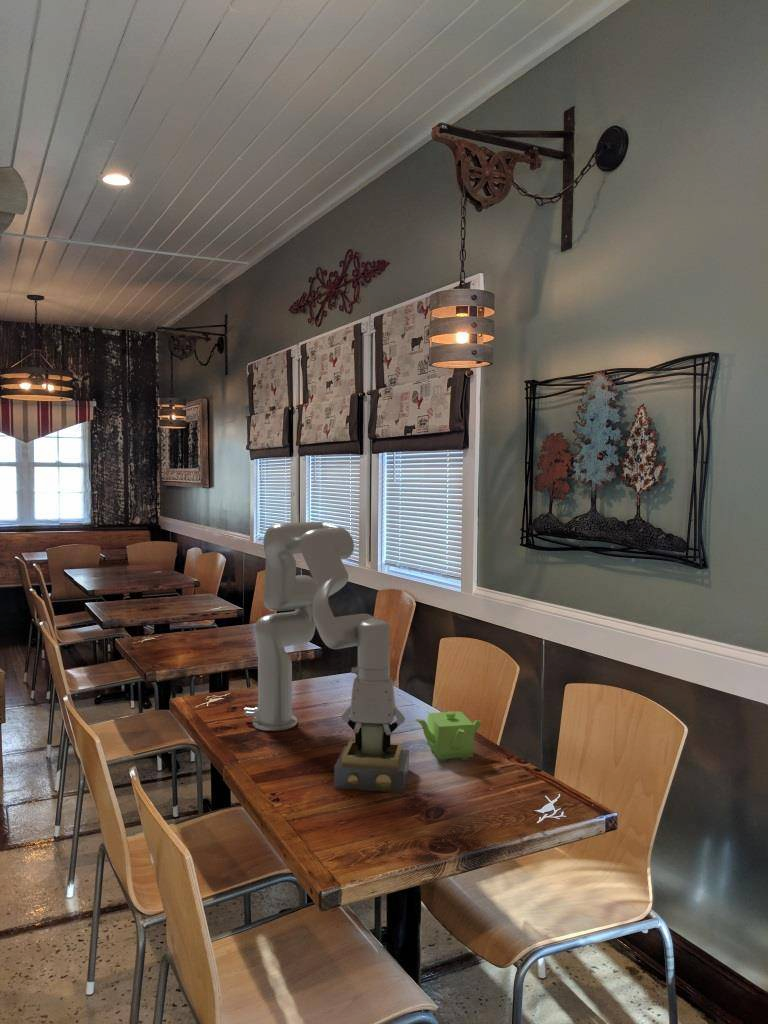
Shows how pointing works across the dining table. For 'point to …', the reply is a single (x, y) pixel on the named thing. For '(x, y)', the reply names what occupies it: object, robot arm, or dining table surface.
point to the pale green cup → (372, 739)
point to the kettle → (450, 734)
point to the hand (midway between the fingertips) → (372, 748)
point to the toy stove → (372, 769)
